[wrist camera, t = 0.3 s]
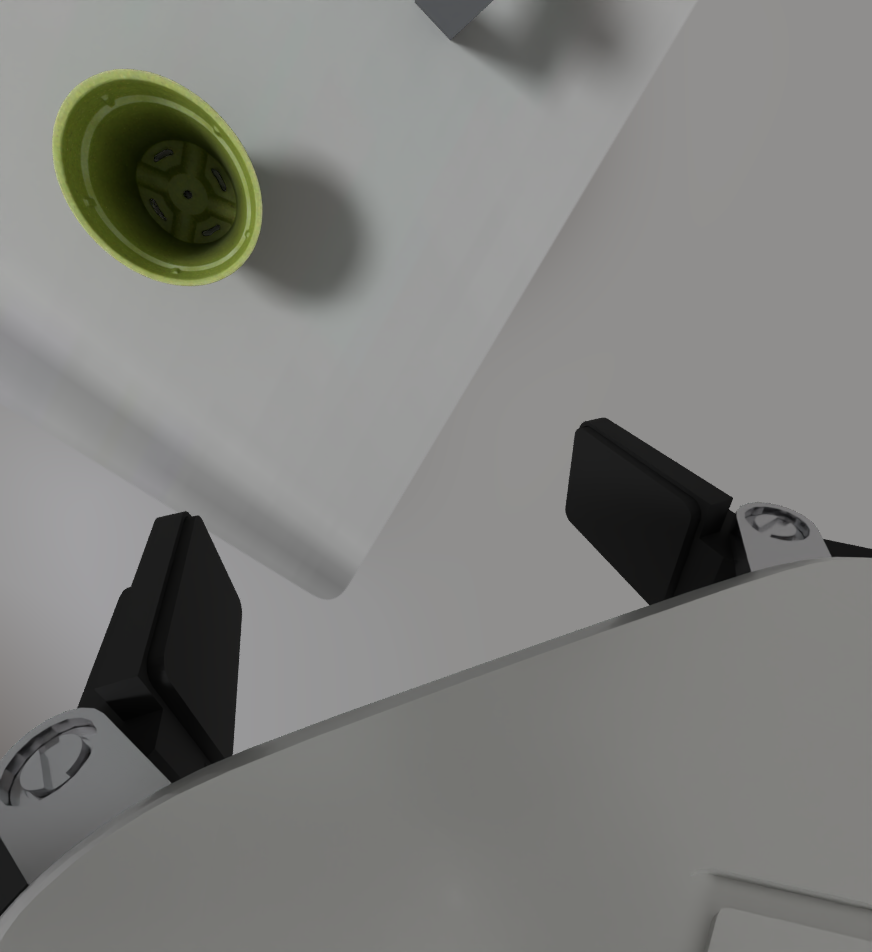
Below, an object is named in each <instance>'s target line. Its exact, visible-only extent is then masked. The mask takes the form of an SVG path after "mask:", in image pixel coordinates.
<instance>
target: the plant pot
mask: <svg viewBox="0 0 872 952" xmlns="http://www.w3.org/2000/svg"><path fill="white" fill-rule="evenodd" d="M166 149H169V150H172V151H173V153H174V154H173V155H170V156H167V157H164V158H162V159H160V160H159V161H158V162H155V161H154V156H155V155H156V154H157V153H159V152H161V151H163V150H166ZM52 152H53V162H54V168H55V173H56V176H57V180H58V183H59V185H60V188H61V191H62V193H63V195H64V197H65V199H66V201H67V203H68V205H69V207H70V209H71V210H72V212H73V214H74V216H75V217H76V219H77V220H78V221H79V223H80V224H81V226H82V227H83V228H84V229H85V231H86V232H87V233H88V234H89V235H90V236H91V237H92V238H93V240H94V241H95V242H96V243H97V244H98V245H99V246H100V247H101V248H102V249H104V250H105V251H106V252H107V253H108V254H109V255H111V256H112V257H113V258H115V259H116V260H117V261H119V262H120V263H122V264H123V265H125V266H127V267H128V268H130V269H131V270H133V271H135V272H137V273H139V274H141V275H143V276H145V277H148V278H150V279H153V280H156V281H159V282H163V283H167V284H172V285H180V286H199V285H206V284H210V283H214V282H217V281H219V280H221V279H223V278H226V277H227V276H229V275H231V274H232V273H234V272H235V271H236V270H238V269H239V268H240V267H241V266H242V265H243V264H244V263H245V261H246V260H247V259H248V258H249V256H250V255H251V253H252V252H253V250H254V248H255V245H256V243H257V240H258V237H259V234H260V230H261V225H262V216H263V207H262V196H261V191H260V186H259V182H258V178H257V175H256V172H255V170H254V167H253V165H252V162H251V160H250V158H249V156H248V154H247V152H246V150H245V149H244V147H243V145H242V144H241V142H240V140H239V139H238V137H237V136H236V134H235V133H234V132H233V130H232V129H231V128H230V127H229V125H228V124H227V123H226V122H225V121H224V119H223V118H222V117H221V116H220V115H219V114H218V113H217V112H216V111H215V110H214V109H213V108H212V107H211V106H210V105H208V104H207V103H206V102H205V101H204V100H202V99H201V98H200V97H199V96H197V95H196V94H194V93H193V92H192V91H190V90H188V89H187V88H185V87H183V86H182V85H180V84H178V83H176V82H174V81H172V80H170V79H168V78H166V77H163V76H160V75H157V74H154V73H151V72H147V71H142V70H134V69H115V70H110V71H105V72H101V73H99V74H97V75H94V76H92V77H90V78H88V79H86V80H84V81H83V82H81V83H80V84H78V85H77V86H76V87H75V88H74V89H73V90H72V91H71V92H70V93H69V95H68V96H67V97H66V99H65V100H64V102H63V103H62V105H61V107H60V110H59V112H58V114H57V117H56V120H55V124H54V129H53V137H52ZM212 168H213V169H215V170H217V171H218V172H219V173H220V175H221V178H222V179H223V181H224V183H225V185H226V191H223V190H222V189H221V186H220V184H219V182H218V180H217V179H216V177H215V176H214V175H213V173H212V171H211V169H212ZM186 190H188V191H190V192H191V193H192V198H190V199H187V198H185V196H184V191H186ZM152 198H153V199H154V200H155V201H156V204H157V205H158V207H159V209H160V210H161V212H162V213H163V214H164V217H166V219H167V220H164V219H162V218H161V217H160V216H159V215H158V214H157V213H156V212H155V211H154V209H153V207H152V206H151V203H150V199H152ZM217 224H218V225H220V229H219V230H217V231H216V232H214V233H213V234H212V235H210V236H204V235H203V234H202V231H206V230H208V229H211V228H212V227H214V226H215V225H217Z"/></svg>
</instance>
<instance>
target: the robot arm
mask: <svg viewBox="0 0 872 952" xmlns="http://www.w3.org/2000/svg"><path fill="white" fill-rule="evenodd" d="M732 500H733V498H732V497H731V496H729V495H727V494H726V493H724V492H723V491H721V490H719V489H718V488H716V487H715V486H713V485H712V484H710V483H708V482H707V481H705V480H704V479H702V478H700V477H699V476H697V475H696V474H694V473H693V472H691V471H689V470H688V469H686V468H685V467H683V466H681V465H680V464H678V463H677V462H675V461H674V460H672V459H670V458H669V457H667V456H666V455H664V454H662V453H661V452H659V451H658V450H656V449H655V448H653V447H651V446H650V445H648V444H647V443H645V442H643V441H642V440H640V439H638V438H637V437H636V436H634V435H632V434H631V433H629V432H628V431H626V430H624V429H623V428H621V427H620V426H618V425H617V424H614V423H613V422H612V421H610V420H609V419H607V418H599V419H594V420H590V421H585V422H583V423H582V424H581V426H580V428H579V429H577V431H576V432H575V438H574V445H573V453H572V462H571V469H570V477H569V484H568V492H567V500H566V509H565V510H566V515H567V518H568V520H569V521H570V522H571V523H572V524H573V525H574V526H575V527H576V528H577V529H578V531H580V533H582V535H583V536H584V537H585V538H586V539H587V540H588V541H589V542H590V543H591V544H592V545H593V546H594V547H595V548H596V549H597V550H598V552H599V553H600V554H601V555H602V556H603V557H604V558H605V559H606V560H607V561H608V562H609V563H610V564H611V565H612V566H613V567H614V568H615V569H616V570H617V571H618V572H619V574H620V575H621V576H622V577H623V578H624V579H625V580H626V581H627V582H628V583H629V584H630V585H631V586H632V587H633V588H634V589H635V590H636V591H637V592H638V594H639V595H640V596H641V597H642V598H643V599H644V600H645V601H646V602H647V603H648V604H649V605H650V606H647V607H644V608H641V609H638V610H635V611H632V612H630V613H627V614H623V615H620V616H618V617H615V618H612V619H609V620H606V621H603V622H600V623H597V624H594V625H592V626H589V627H586V628H583V629H580V630H577V631H574V632H572V633H569V634H566V635H563V636H560V637H557V638H554V639H552V640H549V641H546V642H543V643H540V644H537V645H534V646H532V647H529V648H526V649H523V650H520V651H517V652H514V653H512V654H509V655H506V656H503V657H500V658H497V659H495V660H492V661H489V662H486V663H483V664H480V665H478V666H475V667H472V668H469V669H466V670H463V671H461V672H458V673H455V674H452V675H449V676H447V677H444V678H441V679H438V680H436V681H432V682H430V683H427V684H424V685H421V686H419V687H416V688H413V689H410V690H407V691H405V692H402V693H399V694H396V695H393V696H390V697H388V698H385V699H382V700H379V701H377V702H374V703H371V704H368V705H365V706H363V707H360V708H357V709H354V710H351V711H349V712H346V713H343V714H340V715H337V716H335V717H332V718H329V719H327V720H324V721H321V722H319V723H316V724H313V725H311V726H308V727H305V728H303V729H300V730H297V731H295V732H292V733H289V734H287V735H284V736H281V737H279V738H276V739H273V740H270V741H268V742H265V743H263V744H260V745H257V746H254V747H252V748H249V749H247V750H245V751H242V752H240V753H238V754H235V755H233V756H232V754H233V743H234V728H235V712H236V696H237V682H238V666H239V652H240V651H239V650H240V636H241V621H242V608H241V603H240V599H239V597H238V595H237V593H236V591H235V588H234V586H233V584H232V582H231V580H230V578H229V576H228V574H227V571H226V569H225V567H224V565H223V563H222V561H221V559H220V557H219V555H218V552H217V550H216V548H215V546H214V544H213V542H212V539H211V537H210V535H209V533H208V531H207V529H206V527H205V525H204V522H203V520H202V519H201V517H200V516H198V515H197V516H193V517H192V516H191V515H190V514H189V513H188V512H186V511H185V512H181V513H176V514H172V515H167V516H163V517H159V518H157V519H156V520H155V522H154V525H153V528H152V530H151V533H150V536H149V538H148V541H147V544H146V547H145V549H144V552H143V555H142V558H141V561H140V563H139V566H138V569H137V572H136V574H135V577H134V580H133V583H132V585H131V587H129V588H127V589H125V590H124V591H123V592H122V594H121V596H120V597H119V600H118V603H117V605H116V608H115V610H114V613H113V616H112V618H111V621H110V624H109V626H108V629H107V631H106V634H105V637H104V639H103V642H102V645H101V647H100V650H99V653H98V655H97V658H96V660H95V663H94V666H93V668H92V671H91V673H90V676H89V679H88V681H87V684H86V687H85V689H84V692H83V695H82V697H81V700H80V702H79V706H78V708H77V709H73V710H69V711H65V712H63V713H61V714H59V715H56V716H54V717H52V718H50V719H48V720H46V721H45V722H43V723H41V724H40V725H38V726H37V727H35V728H34V729H32V730H31V731H29V732H28V733H27V734H26V735H25V736H24V737H23V738H21V739H20V740H19V741H18V742H17V743H16V744H15V745H14V746H12V747H11V749H10V750H9V751H8V752H7V754H6V755H5V756H4V757H3V758H2V759H1V761H0V952H872V549H868V548H864V547H859V546H855V545H850V544H845V543H840V542H835V541H830V540H825V539H823V538H822V536H821V534H820V532H819V530H818V529H817V527H816V526H815V525H814V523H813V522H812V521H810V520H809V519H808V518H806V517H805V516H803V515H802V514H800V513H798V512H796V511H794V510H791V509H789V508H786V507H783V506H780V505H775V504H771V503H761V502H755V503H748V504H745V505H742V506H740V508H739V509H738V510H737V511H736V514H735V513H733V512H732V511H730V510H729V507H730V505H731V502H732Z"/></svg>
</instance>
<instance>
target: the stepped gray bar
mask: <svg viewBox="0 0 872 952" xmlns="http://www.w3.org/2000/svg"><path fill="white" fill-rule="evenodd" d="M492 1H493V0H415V3H416V4H417V5H418V6H419V7H420V8H421V9H422V10H423V11H424V12H425V13H426V15H427V16H428V17H429V18H430V19H431V20H432V21H433V22H434V23H435V24H436V25H437V26H438V27H439V29H440V30H441V31H442V32H443V33H444V34H445V35H446V36H447V37H448V38H449V39H450V40H451V39H452V38H453V37H454V36H455V35H456V34H458V33H459V32H460V31H461V30H462V29H463V28H464V27H465V26H466V25H467V24H468V23H469V22H470V21H472V20H473V19H474V18H475V17H476V16H477V15H478V14H479V13H480V12H481V11H482V10H483V9H484V8H486V7H487V6H488V5H489V4H490V3H491V2H492Z"/></svg>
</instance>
